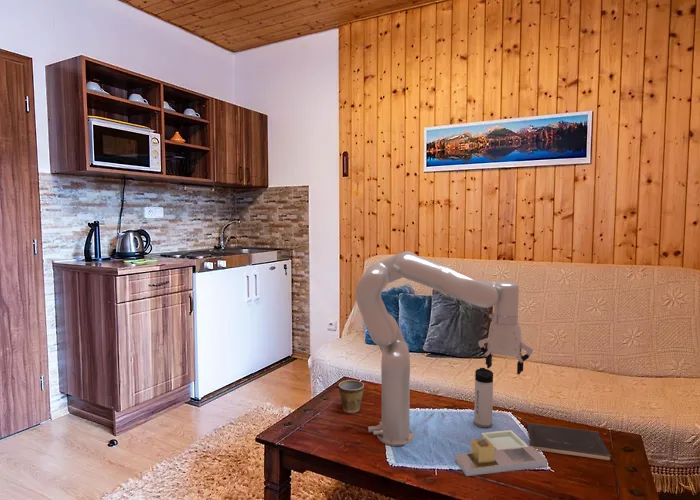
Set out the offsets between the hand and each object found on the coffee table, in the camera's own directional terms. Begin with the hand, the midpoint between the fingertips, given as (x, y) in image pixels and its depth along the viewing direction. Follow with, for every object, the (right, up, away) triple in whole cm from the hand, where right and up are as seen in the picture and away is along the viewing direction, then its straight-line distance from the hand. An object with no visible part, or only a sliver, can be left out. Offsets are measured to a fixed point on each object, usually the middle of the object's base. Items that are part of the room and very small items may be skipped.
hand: (504, 370), depth 143 cm
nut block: (-11, -26, -12) cm, 30 cm away
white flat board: (-5, -26, -11) cm, 29 cm away
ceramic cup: (-51, -23, +29) cm, 63 cm away
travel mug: (-2, -24, +15) cm, 28 cm away
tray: (0, -25, 0) cm, 25 cm away
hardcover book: (+21, -26, +2) cm, 33 cm away
